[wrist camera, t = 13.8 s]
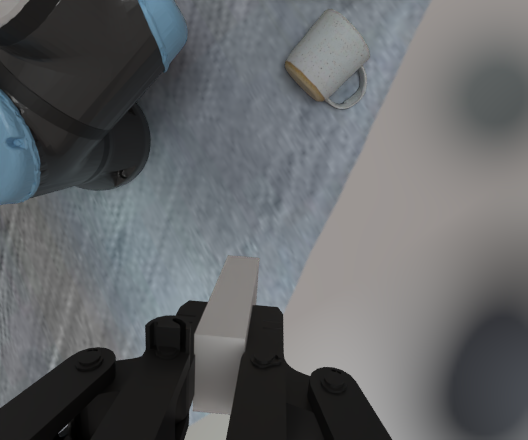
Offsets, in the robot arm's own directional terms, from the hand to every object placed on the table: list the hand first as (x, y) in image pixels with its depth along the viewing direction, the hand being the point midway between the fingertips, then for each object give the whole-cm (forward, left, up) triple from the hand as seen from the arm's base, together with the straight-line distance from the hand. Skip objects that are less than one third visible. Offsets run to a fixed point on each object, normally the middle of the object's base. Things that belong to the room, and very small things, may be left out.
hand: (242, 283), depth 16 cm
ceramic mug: (+7, +16, -35) cm, 39 cm away
